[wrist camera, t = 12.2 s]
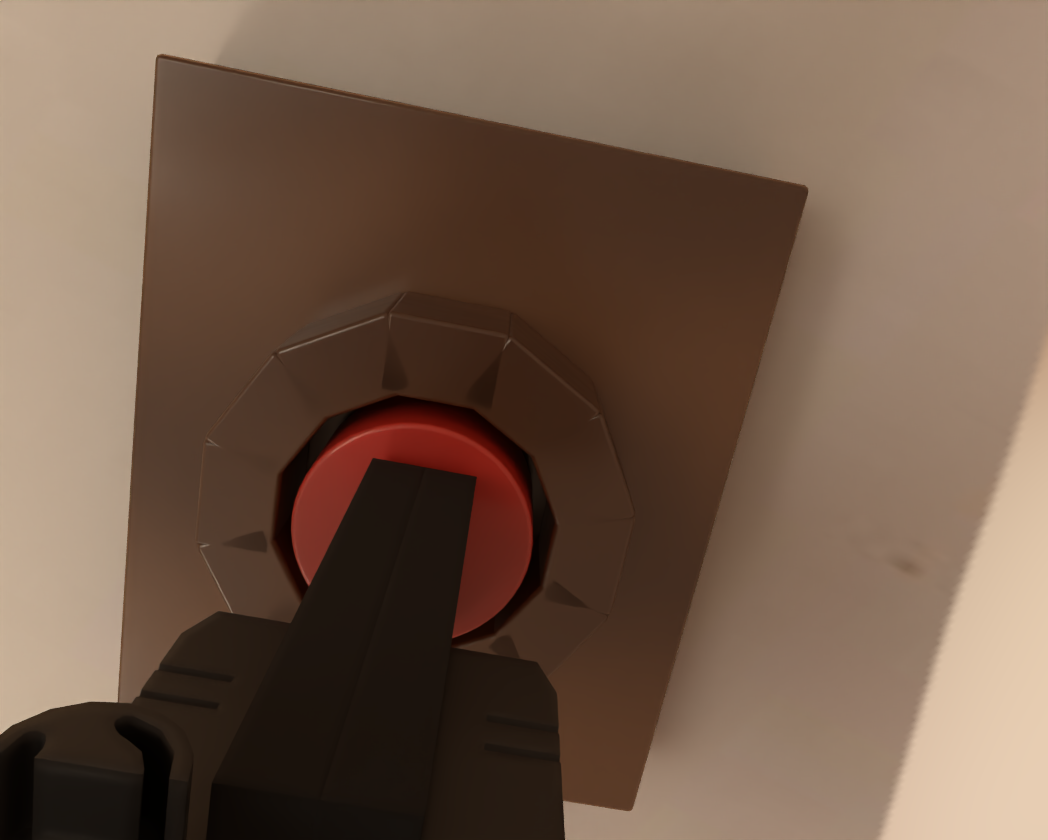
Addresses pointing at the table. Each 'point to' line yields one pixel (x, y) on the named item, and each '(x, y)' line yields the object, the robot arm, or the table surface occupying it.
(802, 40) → the table surface
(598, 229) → the button block
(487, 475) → the button
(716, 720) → the table surface
